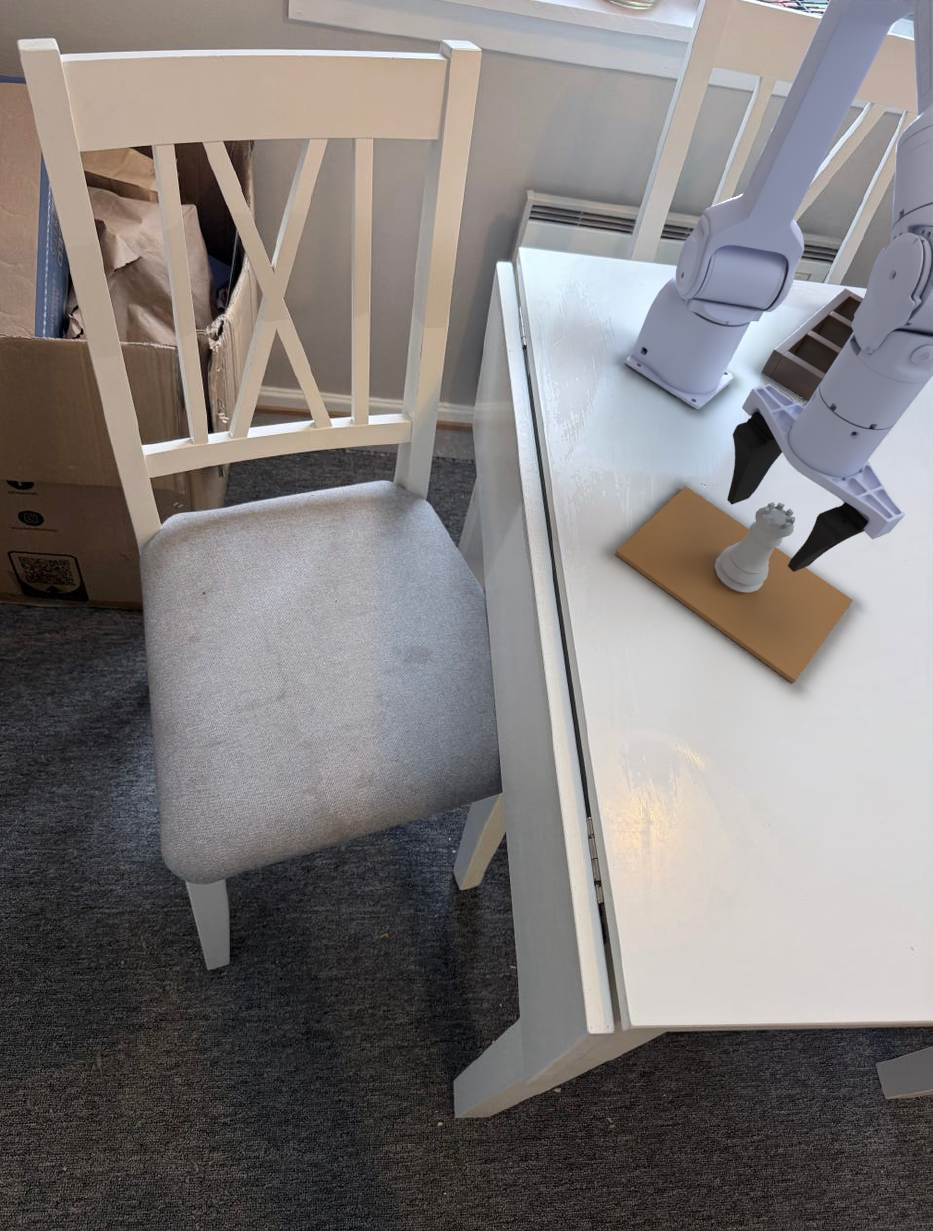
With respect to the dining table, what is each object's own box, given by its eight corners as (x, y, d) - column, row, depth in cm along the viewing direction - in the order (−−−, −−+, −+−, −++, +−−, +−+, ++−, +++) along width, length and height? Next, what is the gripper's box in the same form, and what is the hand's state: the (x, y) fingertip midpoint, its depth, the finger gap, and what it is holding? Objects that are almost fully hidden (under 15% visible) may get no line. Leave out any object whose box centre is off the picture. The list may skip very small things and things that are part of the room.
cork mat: (615, 554, 73) (616, 550, 73) (683, 489, 79) (685, 485, 79) (792, 683, 68) (795, 680, 68) (850, 603, 75) (853, 599, 74)
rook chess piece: (752, 604, 72) (798, 544, 65) (705, 578, 72) (746, 516, 66) (767, 572, 74) (813, 511, 68) (722, 547, 75) (763, 484, 69)
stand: (761, 371, 93) (773, 349, 91) (831, 309, 103) (844, 287, 101) (818, 407, 91) (832, 385, 89) (884, 339, 101) (898, 318, 99)
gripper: (973, 458, 56) (861, 581, 67) (825, 327, 63) (745, 459, 73) (907, 485, 53) (801, 609, 64) (759, 345, 60) (685, 480, 70)
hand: (767, 531), depth 69 cm, fingers open, 7 cm apart
